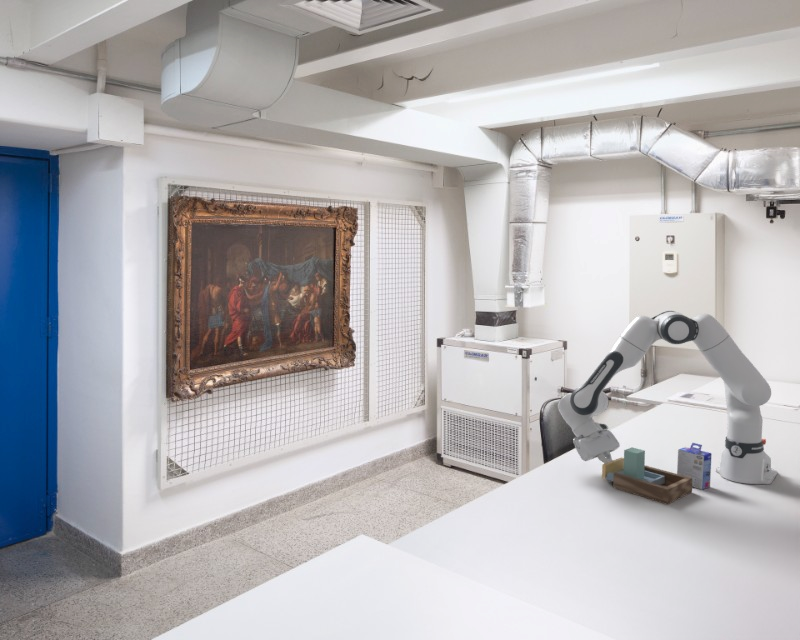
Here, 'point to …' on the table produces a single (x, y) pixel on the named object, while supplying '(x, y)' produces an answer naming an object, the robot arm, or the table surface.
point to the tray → (618, 467)
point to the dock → (655, 486)
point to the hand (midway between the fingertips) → (610, 464)
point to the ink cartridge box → (695, 465)
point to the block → (634, 463)
